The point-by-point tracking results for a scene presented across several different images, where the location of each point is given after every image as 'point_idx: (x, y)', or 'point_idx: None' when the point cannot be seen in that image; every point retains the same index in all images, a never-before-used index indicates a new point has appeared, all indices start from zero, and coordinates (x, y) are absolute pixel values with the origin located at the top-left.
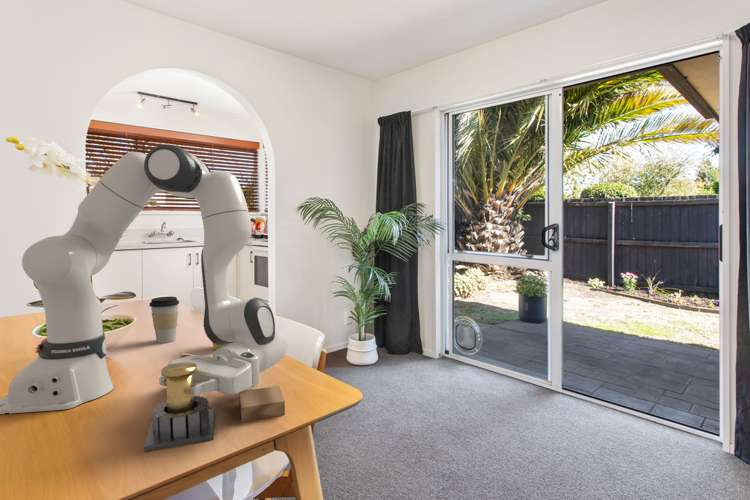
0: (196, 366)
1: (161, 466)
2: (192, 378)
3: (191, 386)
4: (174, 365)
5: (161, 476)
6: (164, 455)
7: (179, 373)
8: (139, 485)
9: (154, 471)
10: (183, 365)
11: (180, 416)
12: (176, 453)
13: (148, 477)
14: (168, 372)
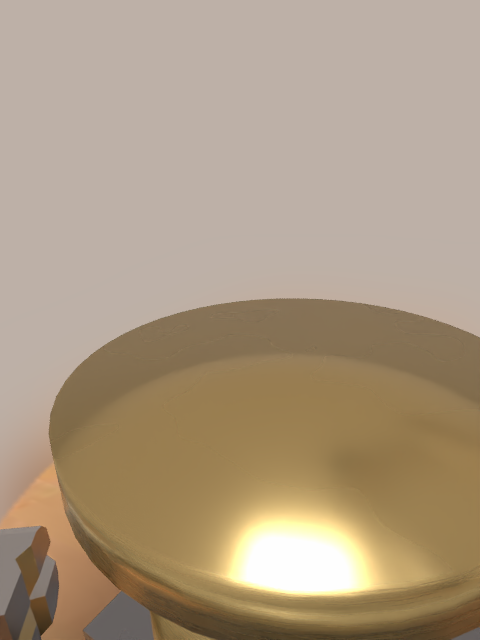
0: (134, 555)
1: (64, 548)
2: (181, 627)
3: (30, 529)
4: (455, 377)
5: (15, 522)
6: (119, 592)
7: (124, 339)
8: (55, 473)
9: (66, 522)
10: (362, 428)
11: (123, 610)
12: (75, 635)
13: (59, 499)
14: (248, 311)
